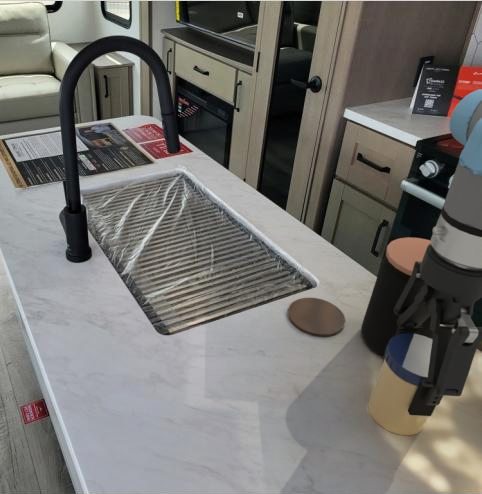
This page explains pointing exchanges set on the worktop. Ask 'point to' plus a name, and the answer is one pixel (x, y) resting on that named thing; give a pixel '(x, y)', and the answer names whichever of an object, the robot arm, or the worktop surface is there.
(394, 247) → the coffee jar
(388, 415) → the jar
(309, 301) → the coaster
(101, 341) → the worktop surface
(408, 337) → the lid
